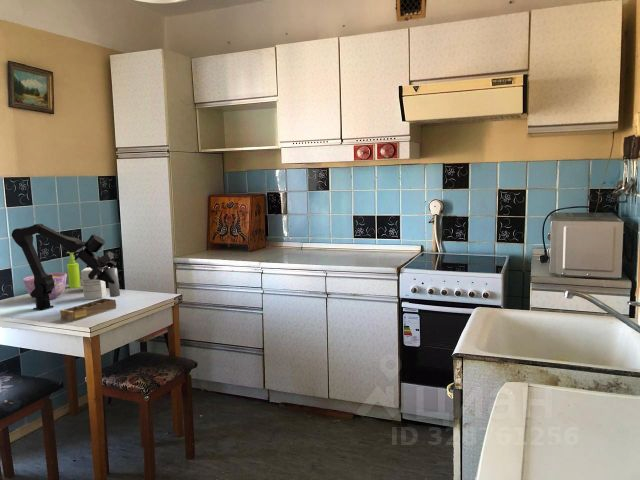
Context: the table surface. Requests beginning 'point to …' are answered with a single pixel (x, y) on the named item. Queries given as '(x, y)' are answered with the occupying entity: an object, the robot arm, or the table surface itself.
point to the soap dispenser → (73, 272)
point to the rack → (87, 309)
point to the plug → (114, 287)
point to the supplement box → (92, 286)
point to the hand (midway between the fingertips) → (116, 282)
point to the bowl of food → (59, 283)
